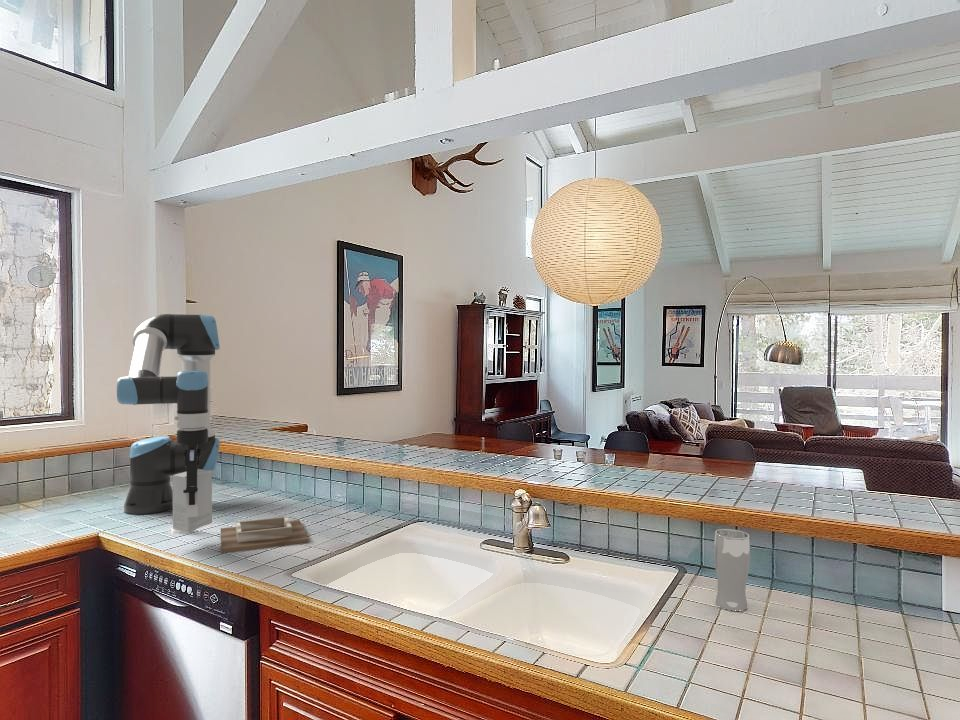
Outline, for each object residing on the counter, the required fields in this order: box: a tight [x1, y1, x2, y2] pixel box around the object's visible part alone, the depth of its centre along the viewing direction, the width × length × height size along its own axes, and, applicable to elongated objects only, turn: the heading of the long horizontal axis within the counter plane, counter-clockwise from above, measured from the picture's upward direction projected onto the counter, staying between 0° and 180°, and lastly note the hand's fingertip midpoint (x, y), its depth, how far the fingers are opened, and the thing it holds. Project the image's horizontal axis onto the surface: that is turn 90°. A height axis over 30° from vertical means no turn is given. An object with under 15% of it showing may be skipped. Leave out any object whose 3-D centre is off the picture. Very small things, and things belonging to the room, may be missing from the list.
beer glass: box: [713, 528, 751, 612], centre depth 123 cm, size 7×7×15 cm
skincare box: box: [172, 469, 213, 533], centre depth 159 cm, size 8×6×15 cm
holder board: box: [220, 515, 310, 554], centre depth 167 cm, size 20×22×4 cm
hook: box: [170, 527, 193, 534], centre depth 173 cm, size 6×10×6 cm
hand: (192, 511), depth 159 cm, fingers closed on skincare box, 10 cm apart
